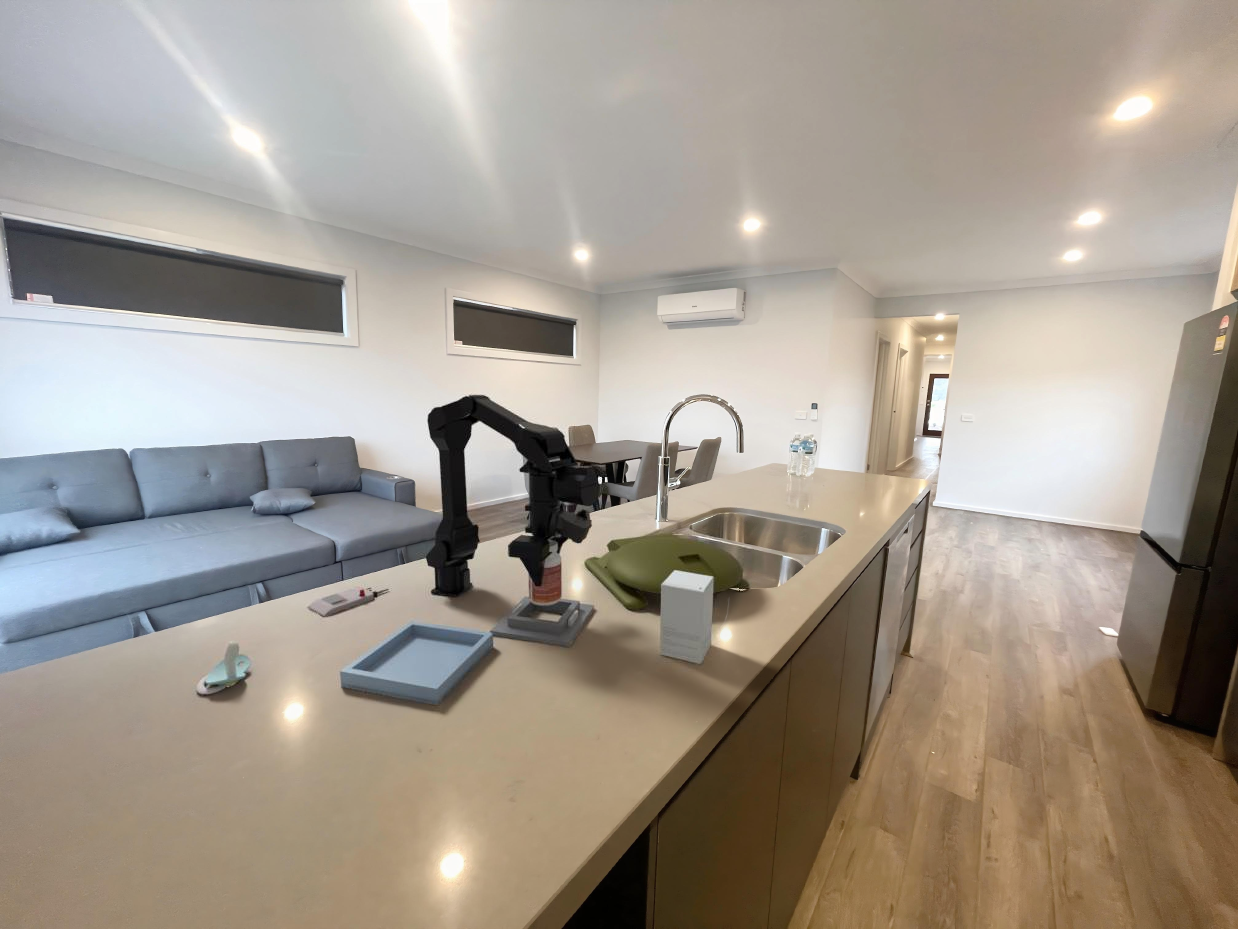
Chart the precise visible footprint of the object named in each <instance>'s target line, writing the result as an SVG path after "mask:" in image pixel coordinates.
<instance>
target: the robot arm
mask: <svg viewBox="0 0 1238 929" xmlns="http://www.w3.org/2000/svg"><path fill="white" fill-rule="evenodd" d="M479 422H480V423H482V424H484V425H486V427H488V428H490V429H492V430H493V431H495V432H497V433H499V434H500V435H501V436H503V437H505V438H507V439H508V440H510V442H512V443H513V444H514V447H515V449H516V451H517V452H518V453H519V454H520V455H521V456H522V457H524V458H525V460H527V461H526V462H525V463H524V464H523V465H522V466H521V467H520V468H519V473H523V474H524V473H525V474H528V503H527V504H525V505H524V511H525V512H528V525H527V526H525V527H524V533H525V534H520V535H518V537H516V538H514V539H513V540H511V541H510V543H508V545H507V556H508V557H509V558H515V559H519V560H520V561H521V563H522V565H523V566H524V568H525V569H526V571H527V574H528V573H529V575H530V577H531V579H532V581H533V583H534V585H535V586H539V587H540V586H541V585H542V579H543V572H544V565H545V559H546V558H547V557H549V556H550V555H551V554H552V552H549V549H550V543H549V542H548V541H549V540H553V541H556V542H557V544H558V549H557V552H556V553H558V554H559V555H560V554H561V550H562V546H563V545H564V544H565V543H566V542H567V541H568V540H571V542H572V543H575V544H581V543H583V541H584V540H586V539H587V536H588V534H589V531H590V529H591V528H592V526H593V524H592V519H591V516H590V515H591V514H590V513H591V512H590V511H589V510H587V509H585V508H581V509H580V510H579V511H578V512H577V513H575V511H572V512H570V511H568V510H567V508H566V504H567V503H568V504H573V505H578V506H585V507H592V506H593V505H594V504H595V503H596V501H597V500H598V498H599V495H600V490H601V484H600V483H599V479H598V477H597V475H596V474H595V473H594V467H593V466H592V465H584V466H581V465H579V464H578V462H577V460H576V458H575V456H574V454H573V452H572V451H571V449H570V446H569V445H568V444H567V440H566V439H565V437H566V436H565V435H564V433H563V432H562V431H561V430H559V429H557V428H553V427H550V426H547V425H544V424H539V423H534V422H530V421H529V420H526V419H524V418H523V417H521V416H519V415H518V414H515V413H514V412H512V411H511V410H509V409H507V408H505V407H504V406H502V405H500V404H499V403H496V402H495V401H493V400H491V398H490V397H489V396H487V395H485V394H468V395H465V396H463V397H461V398H460V399H457V400H456V401H452V402H449V403H447V404H444V405H442V406H437V407H436V406H435V407H433V408H431V411H430V412H429V413H428V415H427V427H428V432H429V437H430V439H431V441H432V442H433V444H434V445H435V446H436V448H437V450H438V455H439V457H438V458H439V472H440V491H441V492H440V493H441V508H442V509H441V510H442V519H441V521H440V523H439V525H438V527H437V529H436V531H435V540H434V545H433V547H432V548H431V549H430V551H429V552H428V553H427V554H426V556H425V559H426V564H427V566H428V567H431V568H433V569H434V586H435V587H434V588H432V589H431V590H430V593H431V594H436V595H444V596H450V597H459V596H460V595H461V594H463V593H465V591H466V590H468V589H469V588H471V587H472V586H473V582H471V569H470V568H469V561H470V560H473V559H474V557H475V554H476V551H477V550H478V546H479V545H478V544H479V543H480V542H481V541H480V538H479V537H480V536H479V529H480V528H479V525H478V524H476V523H473V522H472V521H471V519H470V518H469V516H468V497H467V496H468V494H467V480H466V479H467V476H466V474H467V473H466V458H465V456H466V455H465V450H466V447H467V445H468V444H469V441H470V439H471V437H472V430H473V429H472V428H473V425H475V424H477V423H479ZM565 503H566V504H565ZM526 534H531V535H526Z"/></svg>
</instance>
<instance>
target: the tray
mask: <svg viewBox="0 0 1238 929" xmlns="http://www.w3.org/2000/svg"><path fill="white" fill-rule="evenodd" d="M493 648H494V635H493V633H490V631H489V632H488V631H480V630H474V629H468V628H461V627H455V626H447V625H440V624H434V623H429V622H428V623H427V622H419V621H413V620H411V621H409V622H407V623H406V624H405V625H403V626H402V627H401V628H398V630H396V631H395V632H393V633H392V634H391V635H389V636H388V637H387V638H385V639H384V640H382V641H381V642H379V643H377V645H375V646H374V647H372V648H371V649H369V650H367V651H366V652H365V653H364V654H362V655H361V656H359V657H358V658H357V659H355V660H354V661H352V662H351V663H349V664H348V665H347V666H345V667H344V668H343V669H341V670H340V671H339V674H340V675H339V677H340V687H341V688H344V687H345V689H350V688H352V689H351V690H355V689H357V690H356V691H360V690H364V691H363V692H365V691H367V693H371V694H376V693H378V694H377V695H381V694H382V695H383V696H386V695H387V697H392V698H398V699H403V700H408V701H413V702H418V703H423V704H429V705H433V706H434V705H435V706H439V705H440V703H441V702H442V701H443V700H444V699H445V698H446V697H447V696H448V695H449V693H451V692H452V691H453V689H455V688H456V686H457V685H458V684H460V683H461V681H462V680H464V678H465V677H466V676H467V675H468V674H469V673H470V672H471V671H472V670H473V669H474V668H475V667H476V666H477V665H478V663H480V661H481V660H482V659H483V658H484V657H485V656H486V655H487V654H488V653H489V652H490V651H491V650H492V649H493ZM382 695H381V696H382Z"/></svg>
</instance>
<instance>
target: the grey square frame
mask: <svg viewBox="0 0 1238 929" xmlns="http://www.w3.org/2000/svg"><path fill="white" fill-rule="evenodd" d="M535 610H536V611H545V612H551V613H559V614H562V615H561V616H560V618H559V619H558V620H557V621H555V620H548V619H541V618H533V617H529V615H531V613H532V612H533V611H535ZM594 610H595V605H594V604H589V603H582V602H581V601H580V600H575V599H574V600H573V599H565V598H561V600H560V601H559V602H557V603H555V604H552V605H547V606H542V605H536V604H533V603H531V602H530V600H529V596H524V597H523V598H522V599H521V600H519V602H518V603H516V605H515V606H514V607H512V609H511V610H510V611H508V612H507V614H505V615H504V617H503V618H501V620H499V621H498V622H497V623H496V624H495V625H494V626H493V627H492V628H491V629H490V631H489V633H493V637H494V636H496V637H500V638H501V637H502V638H509V639H514V640H515V639H517V640H522V641H523V640H524V641H530V642H535V643H541V644H550V645H556V646H563V647H568V648H569V647H570V646H571V645H572V643H573V642H574V640H575V639H576V637H577V636H578V634H579V632H581V630H582V628H583V626H584V625H585V624H586V622H587V621H588V619H589V618H590V616H592V615H591V614H592V613H593V611H594Z"/></svg>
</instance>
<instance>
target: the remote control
mask: <svg viewBox="0 0 1238 929" xmlns="http://www.w3.org/2000/svg"><path fill="white" fill-rule="evenodd" d="M389 589H390V588H385V589H382V590H378V591H377V590H376V591H375V590H374V591H372V587H368V588H365V587H362V586H361V587H360V586H353V587H352V588H348V589H346V590H343V591H339V592H335V593H333V594H330V595H327V596H324V597H321V598H317V599H315V600H314V601H312V602H311V603H310V604H309V605H307V606H306V608H307V609H308V608H309V610H310V611H312V612H313V611H314V612H313V613H315V612H316V613H315V614H317V613H318V614H317V615H319V616H320V617H323V616H326V617H328V616H327V615H329V616H331V615H334V614H336V613H335V612H337V613H340V612H342V611H341V610H343V611H345V610H348V609H351V608H353V606H354V607H356V606H355V605H357V606H359V605H361V604H364V603H368V602H371V601H373V600H374V599H375V598H374V597H377V596H378V595H380V594H382V593H384V592H386V591H389ZM358 604H359V605H358ZM350 607H351V608H350ZM347 608H348V609H347ZM344 609H345V610H344ZM339 611H340V612H339ZM333 613H334V614H333ZM330 614H331V615H330Z"/></svg>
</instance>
